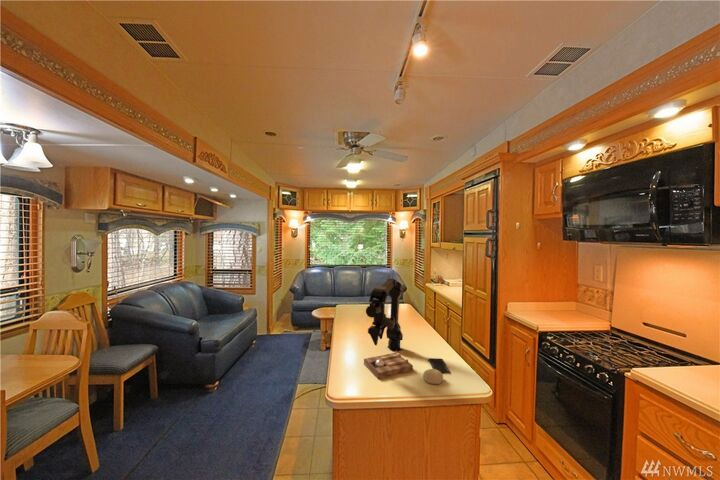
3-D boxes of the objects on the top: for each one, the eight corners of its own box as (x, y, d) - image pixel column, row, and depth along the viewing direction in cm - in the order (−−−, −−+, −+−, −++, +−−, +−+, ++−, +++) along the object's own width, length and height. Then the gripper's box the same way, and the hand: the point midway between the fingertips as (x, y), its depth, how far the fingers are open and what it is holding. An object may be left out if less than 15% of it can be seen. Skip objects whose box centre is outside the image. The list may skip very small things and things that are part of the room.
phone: (442, 358, 151) (450, 372, 136) (442, 360, 151) (450, 374, 136) (428, 358, 151) (434, 371, 136) (428, 360, 151) (434, 373, 136)
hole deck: (395, 357, 153) (395, 350, 152) (412, 371, 138) (412, 363, 138) (363, 364, 144) (363, 357, 144) (378, 379, 130) (378, 371, 130)
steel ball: (373, 366, 141) (382, 370, 141) (373, 368, 136) (383, 372, 136) (376, 357, 143) (385, 360, 142) (377, 358, 138) (386, 362, 137)
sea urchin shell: (418, 371, 134) (430, 360, 134) (429, 382, 134) (441, 371, 135) (424, 381, 125) (437, 369, 125) (436, 393, 125) (448, 381, 126)
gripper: (389, 319, 130) (388, 351, 131) (398, 309, 148) (397, 338, 148) (367, 316, 134) (367, 347, 135) (378, 307, 152) (377, 335, 152)
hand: (378, 341), depth 142 cm, fingers open, 9 cm apart
